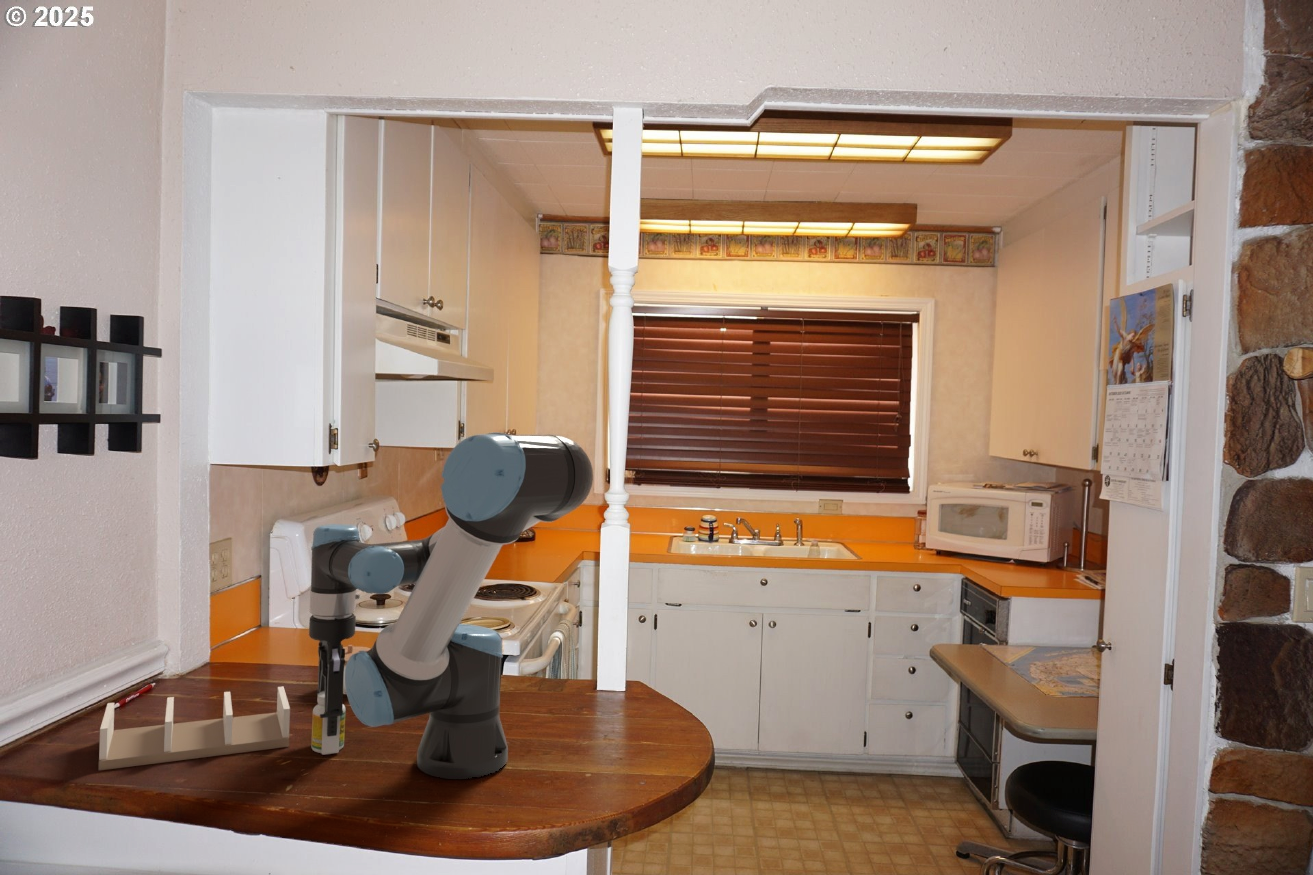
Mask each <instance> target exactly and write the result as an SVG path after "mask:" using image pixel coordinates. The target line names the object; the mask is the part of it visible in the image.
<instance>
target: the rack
mask: <svg viewBox="0 0 1313 875" xmlns="http://www.w3.org/2000/svg"><path fill="white" fill-rule="evenodd" d="M284 687H285V686H277V697H276V698H277V700H276V712H269V713H260V714H259V713H258V714H251V715H242V716H233V713H234V712H233V706H232V705H233V704H232V695H231V691H224V692H223V713H222V718H215V719H214V718H212V719H205V720H204V719H203V720H195V721H187V722H178V723H177V722H176V723H174V709H175V708H174V705H175V703H174V702H175V696H169V697H167V699H166V706H165V707H166V708H165V718H164V724H159V725H157V724H156V725H150V726H142V727H141V726H140V727H130V728H123V729H115V728H114V727H115V724H114V723H115V702H108V703H107V704H106V707H105V712H104V715H103V718H102V720H101V721H102V722H101V725H100V728H99V751H98V752H99V754H98V755H99V757H98V771H105V770H113V769H123V768H129V767H135V766H136V767H137V766H145V765H152V764H161V763H169V762H176V761H177V762H179V761H183V760H186V761H187V760H192V759H193V760H194V759H199V758H200V759H201V758H207V757H208V758H210V757H217V756H224V755H233V754H241V753H249V752H257V751H264V750H272V749H279V748H287V747H290V721H291V720H290V718H291V717H290V716H291V707H290V703H289V700H288V696H287V694H286V691H285V688H284Z"/></svg>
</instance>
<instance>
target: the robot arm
mask: <svg viewBox="0 0 1313 875" xmlns="http://www.w3.org/2000/svg"><path fill="white" fill-rule="evenodd" d="M593 470H594V469H593V467H592V462H591V460H590V458H589V456H588V454H587V453H586V451H585V450H584V449H583V448H582V446H580V445H579V444H578V443H576V442H575V441H574V440H572V439H570V438H569V437H566V436H562V435H559V434H558V435H557V434H507V433H503V432H489V433H485V434H484V433H483V434H475V435H472V436H468V437H466V438H464V439H463V440H461V441H460V442H459V443H457V444H456V445H455V446H454V447H453V448H452V450H451V451H450V452H449V454H448V456H447V458H446V460H445V461H444V465H443V468H442V472H441V478H443V479H444V481H443V482H442V483H441V485H440V488H441V494H442V495H441V496H442V499H443V502H444V508H445V512H446V516H448V520H447V522H446V524H445V525H444V526H443V527H442V528H440V529H438V530H437V531H436V532H434V533H432V534H431V535H428V536H427V537H425V538H421V539H413V540H403V541H391V542H382V543H381V542H380V543H366V542H361V538H360V530H359V529H358V527H357V526H356V525H351V524H337V523H336V524H335V523H334V524H323V525H319V526H318V527H316V528H315V529H314V531H313V540H312V546H311V569H310V571H311V572H310V575H311V577H310V580H311V582H310V586H311V587H310V594H309V613H310V614H311V616H310V617H309V625H308V626H309V628H308V636H309V638H310V639H312V640H315V641H318V648H317V653H318V654H317V655H318V671H317V672H318V674H317V675H318V676H317V691H316V695H317V696H318V694H319V693H320V692H323V691H325V712H324V714H320V718H323V727H322V752H321V753H320V754H321V755H331V754H338V753H339V751H340V750H339V734H340V716H342V713H343V710H342V707H343V705H344V704H343V703H344V702H343V701H344V700H343V699H344V694H343V678H344V664H345V659H344V658H345V648H343V647H344V646H343V644H342V642H343V641H344V640H348V639H351V638H352V637H354V636H355V634H356V619H357V618H356V615H355V614H354V613H355V611H356V608H357V601H356V600H359V599H361V598H360V594H359V593H357V590H359V591H361V592H363V593H364V592H365V593H366V594H374V595H375V594H377V595H384V594H388V593H390V592H391V591H393V590H395V588H397V587H400V586H401V587H402V586H408V585H413V584H414V586H413V588H412V591H411V593H410V594H409V596H408V598H407V601H406V603H405V605H404V606H403V608H402V611H401V612H400V614H399V616H398V618H397V620H396V622H393V623H391V624H388V625H387V626H385V627H383V629H382V630H381V631H380V632H379V634H378V635H377V637H376V640H374V643H373V645H372V647H371V649H370V650H368V651H364V650H363V651H359V652H358V653H355V654H353V655H352V656H351V657H350V658H349V660H348V662H347V664H346V668H345V687H346V693H347V694H346V696H347V700H348V703H349V705H350V707H351V710H352V712H353V714H354V715H355V717H356V718H357V719H358V720H359V722H361V723H362V724H364V725H365V726H369V727H370V728H371V727H372V728H376V727H381V726H385V725H386V726H391V725H393V724H396V723H400V722H403V721H405V720H409V719H412V718H418V717H419V716H424V715H426V714H429V717H428V721H427V723H426V726H425V729H424V731H423V735H422V736H421V739H420V743H419V745H418V748H417V752H416V753H417V754H416V755H417V756H416V765H417V768H418V769H419V771H421V772H423V773H424V774H427V775H429V776H432V777H435V778H439V777H440V778H441V779H446V780H467V779H468V778H469V779H473V778H472V777H477V778H480V777H481V776H482V777H485V776H484V775H486V776H489V775H491V774H490V773H492V774H494V773H496V772H495V771H497V772H498V771H500V770H501V769H500V768H502V767H503V766H504V765H505V764H507V763H508V759H509V758H508V756H509V754H508V753H509V747H508V743H507V738H506V735H505V733H504V728H503V725H502V722H501V717H500V706H501V704H500V703H501V685H502V684H501V682H502V665H503V657H504V654H503V649H502V648H503V645H502V644H503V640H502V636H501V635H500V633H499V632H497V631H496V630H494V629H491V628H489V627H486V626H481V625H476V624H469V623H461V622H462V620H463V618H464V617H465V614H466V613H467V611H468V609H469V608H470V605H471V604H472V603H473V600H474V599H475V596H476V595H477V593H478V591H479V590H480V587H481V585H482V584H483V582H484V580H485V578H486V577H487V575H488V574H489V571H490V570H491V568H492V565H493V564H494V562H495V560H496V558H497V556H498V555H499V553H500V551H501V550H502V547H503V546H504V545H509V544H513V543H514V542H516V541H517V540H518V539H519V538H520V536H521V535H522V533H523V532H524V531H527V530H528V529H530V528H531V527H534V526H535V525H537V524H538V523H540V522H541V523H553V522H555V521H557V520H559V519H561V518H562V517H564V516H566V515H568V514H570V513H571V512H573V511H575V510H576V509H578V508H579V507H580V506H582V504H583V503H584V502H585V501H586V499H587V498H588V496H589V495H590V494H591V490H592V487H593V481H594V472H593ZM506 762H507V763H506ZM505 766H506V765H505ZM505 766H504V767H505ZM504 767H503V768H504ZM503 768H502V769H503ZM499 769H500V770H499ZM488 774H489V775H488ZM469 779H468V780H469Z"/></svg>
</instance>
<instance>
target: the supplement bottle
mask: <svg viewBox="0 0 1313 875" xmlns="http://www.w3.org/2000/svg"><path fill="white" fill-rule="evenodd" d="M316 702H317V704H316V705H315V706H314V707H313V708H312V709H313V710H312V719H311V720H312V724H311V725H312V726H311V749H312V752H313V751H314V752H315V753H318V754H319V753H320V754H322V753H321V752H322V727H323V718H320V714H324V712H325V691H323V692H320V693H319V694H318V695H317V700H316ZM342 710H343V713H342V716H340V734H339V751H340V750H342V748H344V746H345V733H346V732H345V728H346V727H345V726H346V706H345V704H343V707H342Z"/></svg>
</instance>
